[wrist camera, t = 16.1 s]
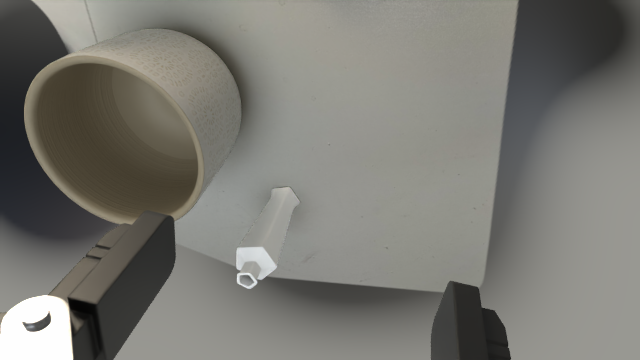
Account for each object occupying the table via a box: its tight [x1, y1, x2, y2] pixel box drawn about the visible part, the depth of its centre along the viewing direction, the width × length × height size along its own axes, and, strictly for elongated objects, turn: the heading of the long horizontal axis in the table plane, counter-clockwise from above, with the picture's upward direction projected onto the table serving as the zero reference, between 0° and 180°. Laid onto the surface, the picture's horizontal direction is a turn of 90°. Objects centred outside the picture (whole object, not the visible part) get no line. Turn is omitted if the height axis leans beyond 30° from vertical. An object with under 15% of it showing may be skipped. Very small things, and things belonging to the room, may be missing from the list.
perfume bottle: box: [236, 187, 300, 289], centre depth 53 cm, size 5×4×15 cm
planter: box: [24, 29, 242, 225], centre depth 48 cm, size 17×17×15 cm
